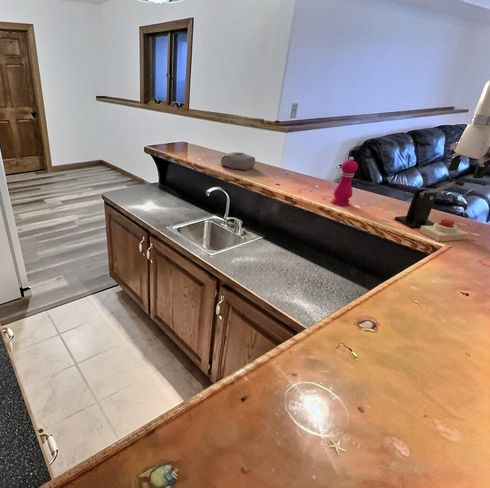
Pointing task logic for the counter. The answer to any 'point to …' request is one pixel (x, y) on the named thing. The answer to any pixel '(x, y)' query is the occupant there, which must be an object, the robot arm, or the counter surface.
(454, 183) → the toaster lever
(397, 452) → the counter surface
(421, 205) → the lever bracket
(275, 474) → the counter surface
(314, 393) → the counter surface
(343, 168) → the pepper mill
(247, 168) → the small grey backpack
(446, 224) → the button
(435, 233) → the button block
